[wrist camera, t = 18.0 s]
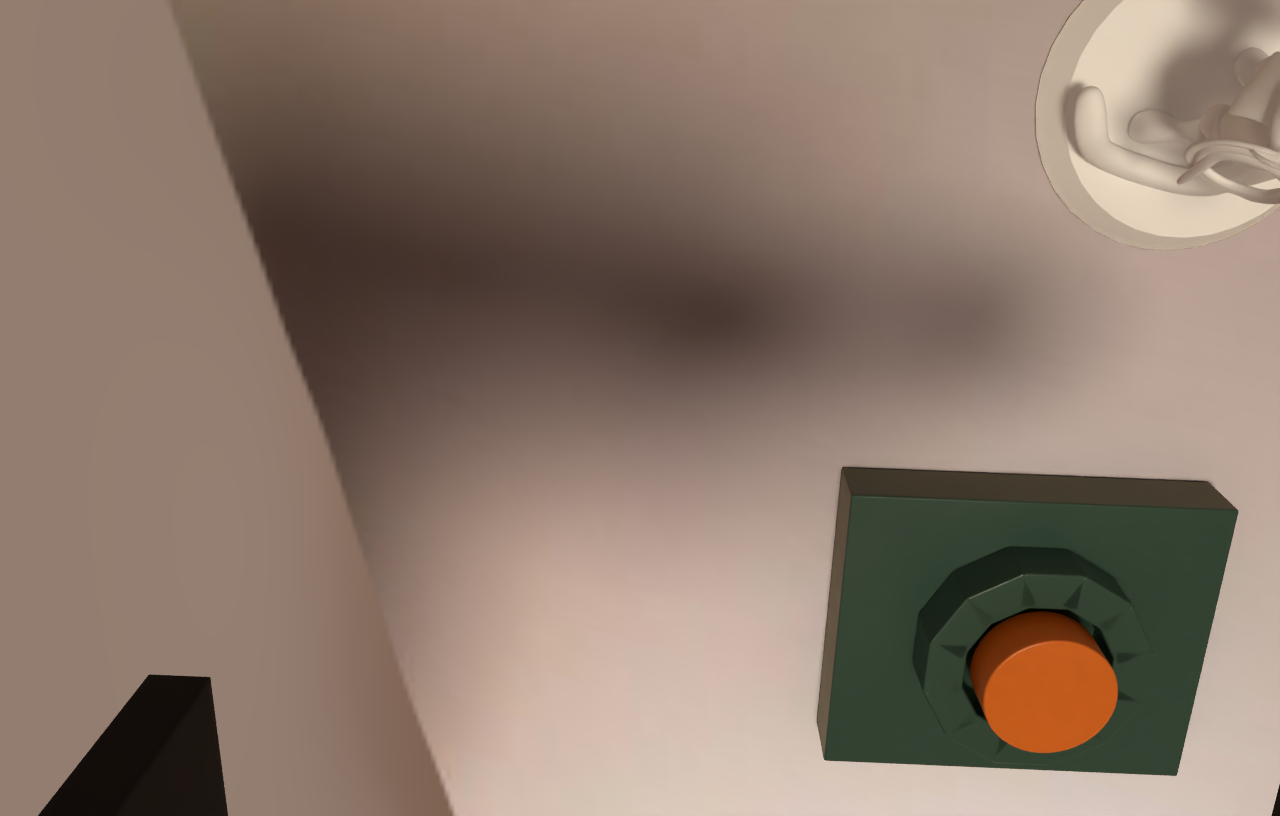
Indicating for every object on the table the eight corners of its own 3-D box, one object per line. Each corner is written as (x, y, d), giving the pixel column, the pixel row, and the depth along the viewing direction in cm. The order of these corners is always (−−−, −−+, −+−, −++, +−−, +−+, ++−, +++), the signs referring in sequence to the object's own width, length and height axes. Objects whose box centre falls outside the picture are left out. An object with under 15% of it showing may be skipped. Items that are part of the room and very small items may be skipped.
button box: (816, 722, 42) (830, 796, 38) (841, 466, 38) (859, 520, 34) (1152, 736, 41) (1199, 812, 38) (1209, 481, 38) (1267, 536, 34)
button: (962, 716, 37) (975, 751, 35) (978, 607, 36) (993, 638, 34) (1087, 722, 37) (1106, 756, 35) (1108, 613, 36) (1129, 643, 34)
